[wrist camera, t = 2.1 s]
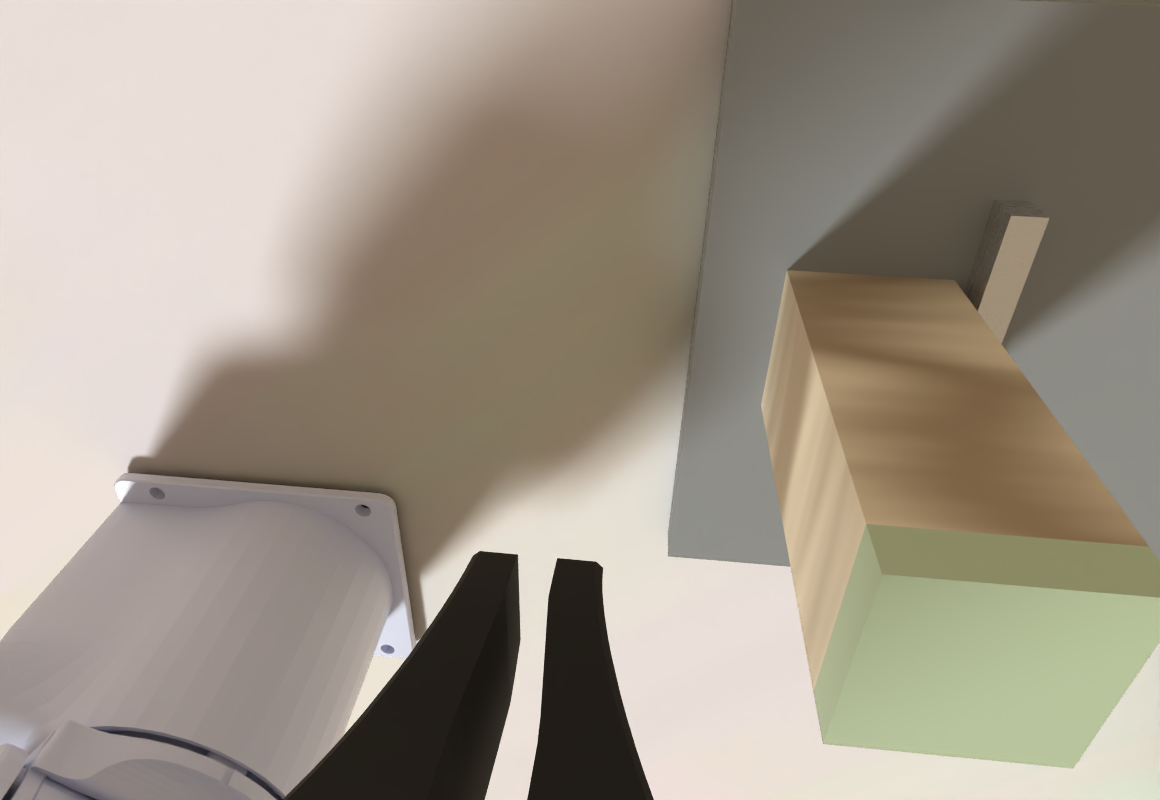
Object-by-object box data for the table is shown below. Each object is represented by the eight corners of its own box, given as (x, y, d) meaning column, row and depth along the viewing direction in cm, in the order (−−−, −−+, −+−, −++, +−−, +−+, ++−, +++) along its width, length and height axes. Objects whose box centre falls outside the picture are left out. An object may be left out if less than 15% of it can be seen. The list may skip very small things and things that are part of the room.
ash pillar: (761, 405, 21) (823, 743, 13) (786, 270, 19) (881, 574, 10) (911, 415, 21) (1073, 768, 12) (954, 280, 19) (1188, 600, 10)
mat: (668, 534, 25) (668, 579, 24) (734, -16, 16) (742, -5, 15) (1241, 581, 24) (1284, 632, 23) (1649, 19, 15) (1770, 35, 14)
